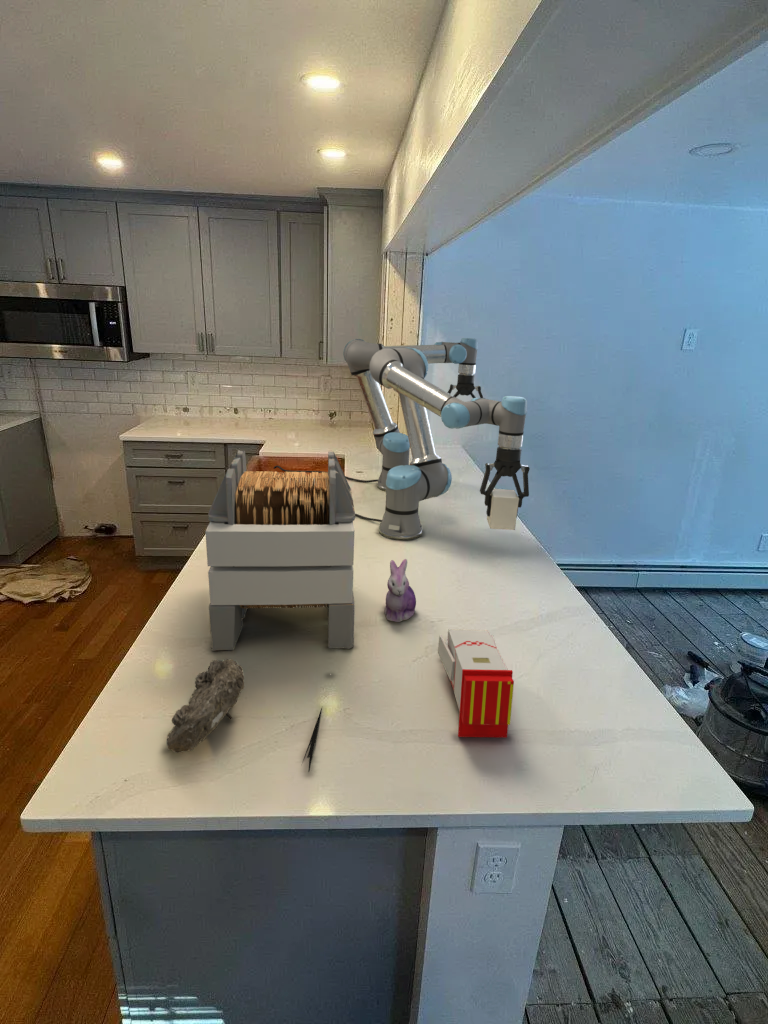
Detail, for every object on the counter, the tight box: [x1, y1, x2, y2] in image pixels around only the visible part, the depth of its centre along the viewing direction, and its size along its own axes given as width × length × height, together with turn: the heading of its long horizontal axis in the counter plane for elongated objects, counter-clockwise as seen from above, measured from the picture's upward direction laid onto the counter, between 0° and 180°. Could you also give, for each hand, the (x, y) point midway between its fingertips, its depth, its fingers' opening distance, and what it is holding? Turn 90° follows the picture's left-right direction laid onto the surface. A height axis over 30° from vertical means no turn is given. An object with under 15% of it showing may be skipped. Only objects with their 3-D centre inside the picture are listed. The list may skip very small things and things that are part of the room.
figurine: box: [384, 558, 417, 623], centre depth 145 cm, size 9×10×15 cm
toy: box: [437, 628, 515, 738], centre depth 117 cm, size 12×13×30 cm
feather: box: [301, 673, 332, 771], centre depth 108 cm, size 2×28×2 cm
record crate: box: [204, 449, 356, 652], centre depth 138 cm, size 34×33×41 cm
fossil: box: [166, 658, 245, 754], centre depth 106 cm, size 22×10×15 cm
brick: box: [486, 488, 519, 531], centre depth 183 cm, size 9×8×11 cm
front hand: (501, 515), depth 184 cm, fingers closed on brick, 8 cm apart
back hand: (462, 421), depth 261 cm, fingers open, 13 cm apart
